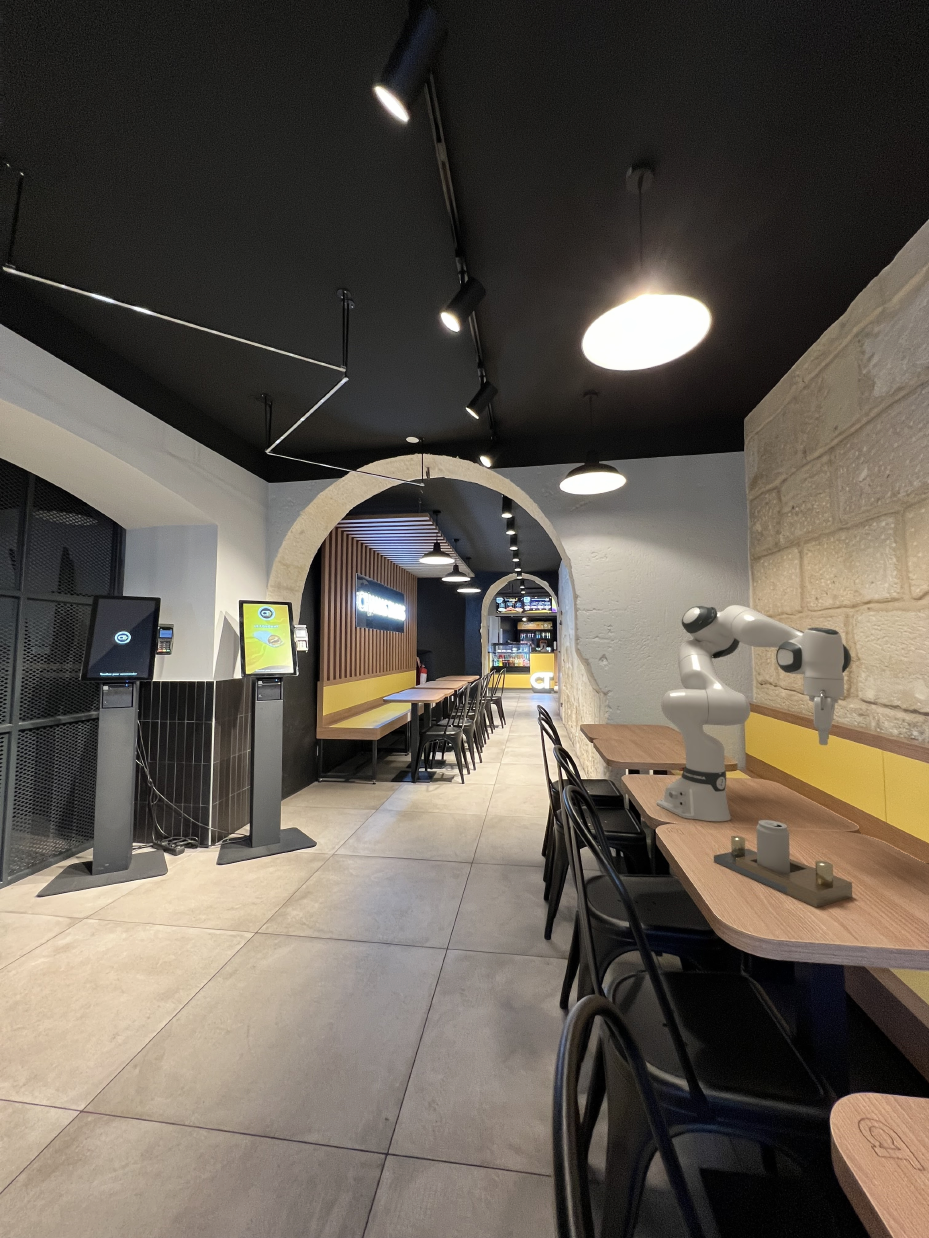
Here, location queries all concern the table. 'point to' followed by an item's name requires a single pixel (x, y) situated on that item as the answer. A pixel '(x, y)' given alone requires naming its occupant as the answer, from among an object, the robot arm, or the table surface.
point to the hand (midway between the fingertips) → (824, 741)
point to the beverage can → (773, 846)
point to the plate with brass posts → (789, 876)
